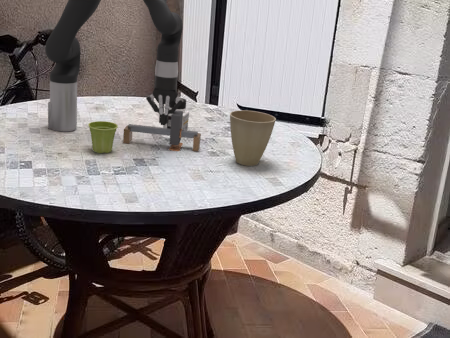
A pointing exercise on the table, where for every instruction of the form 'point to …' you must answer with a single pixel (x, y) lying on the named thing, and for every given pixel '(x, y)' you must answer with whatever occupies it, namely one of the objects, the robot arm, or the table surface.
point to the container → (185, 115)
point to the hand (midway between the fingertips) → (163, 124)
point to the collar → (176, 127)
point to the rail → (162, 131)
